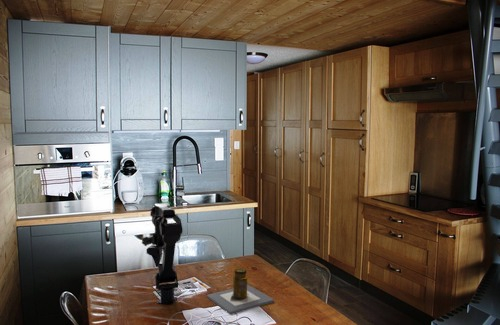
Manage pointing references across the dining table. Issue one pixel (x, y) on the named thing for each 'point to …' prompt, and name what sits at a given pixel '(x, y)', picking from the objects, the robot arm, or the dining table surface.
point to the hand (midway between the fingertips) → (161, 263)
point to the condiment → (239, 286)
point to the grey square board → (231, 307)
